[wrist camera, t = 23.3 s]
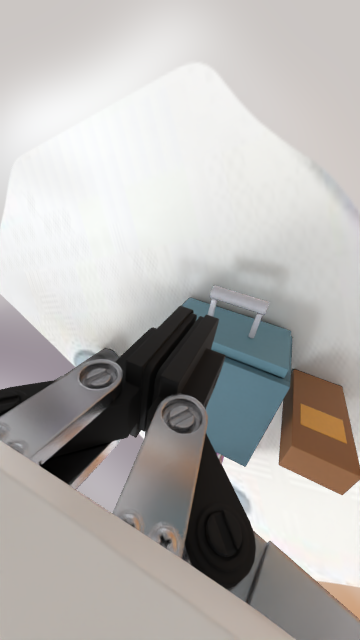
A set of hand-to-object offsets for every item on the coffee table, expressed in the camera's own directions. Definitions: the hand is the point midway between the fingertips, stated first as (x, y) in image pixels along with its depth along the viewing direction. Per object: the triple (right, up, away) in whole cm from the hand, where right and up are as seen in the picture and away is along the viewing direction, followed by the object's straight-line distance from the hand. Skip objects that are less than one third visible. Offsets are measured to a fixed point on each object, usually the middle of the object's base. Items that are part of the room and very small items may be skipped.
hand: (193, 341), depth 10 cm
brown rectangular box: (+17, -8, +22) cm, 29 cm away
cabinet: (+6, -5, +26) cm, 27 cm away
